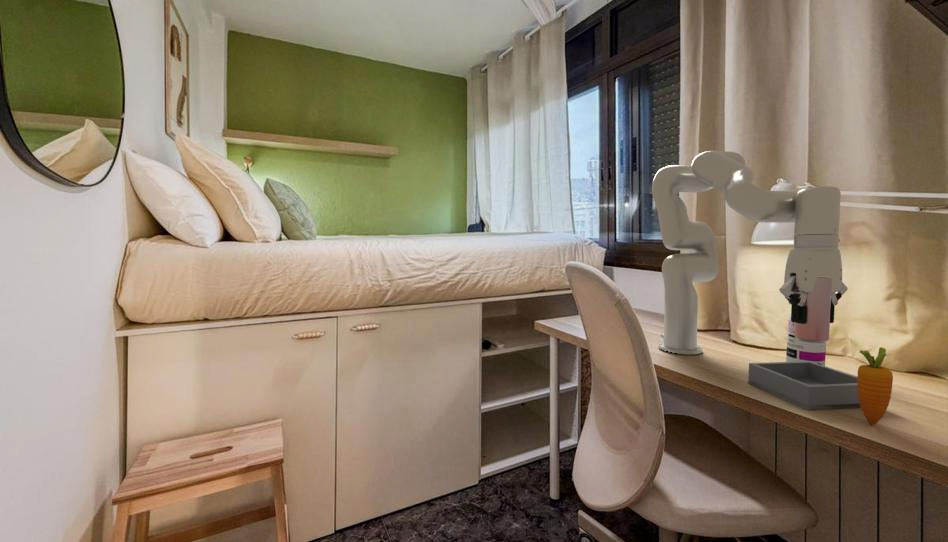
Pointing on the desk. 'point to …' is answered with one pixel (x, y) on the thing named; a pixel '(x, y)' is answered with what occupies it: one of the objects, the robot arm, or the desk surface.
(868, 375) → the carrot
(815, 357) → the supplement can
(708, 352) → the desk surface
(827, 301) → the beverage can
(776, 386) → the tray
